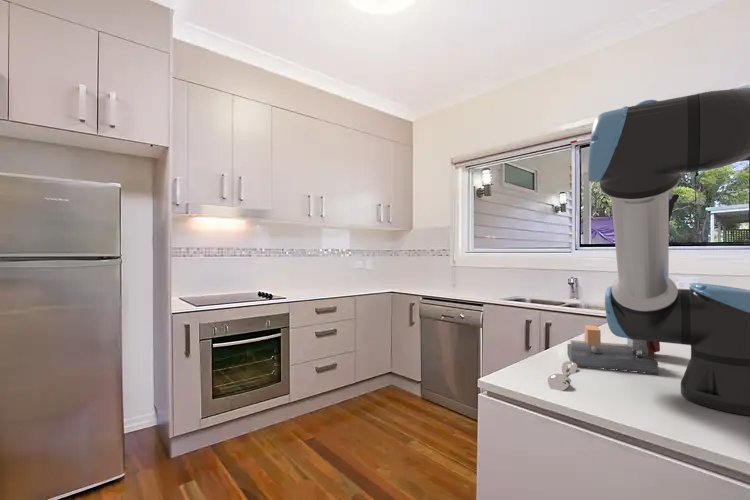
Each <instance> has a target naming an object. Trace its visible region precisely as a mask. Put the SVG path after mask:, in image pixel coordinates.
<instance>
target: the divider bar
mask: <svg viewBox="0 0 750 500" xmlns="http://www.w3.org/2000/svg"><path fill="white" fill-rule="evenodd" d="M626 339H627V340H626V341H627V343H626V344H625V343H613V342H601V346H599V345H596V351H599V352H611V353H624V354H636V356H637V357H642V355H648V347H647V341H645V340H631V339H629V338H626ZM570 344H571V349H575V350H587V351H591V345H588V344H587V342H586V341H585V340H572V339H570Z"/></svg>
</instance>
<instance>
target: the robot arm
mask: <svg viewBox="0 0 750 500" xmlns="http://www.w3.org/2000/svg"><path fill="white" fill-rule="evenodd" d="M590 134H591V135H590V141H589V151H588V165H587V166H588V168H587V169H588V171H587V173H588V174H587V175H588V176H587V177H588V180H589V182H591V183H596V184H597V183H599V187H600V190H601V192H602V194H604V195H605V196H607V197H609V198H610V203H611V213H612V214H611V215H612V222H613V223H612V224H613V234H614V236H613V237H614V245H615V257H616V263H617V264H616V267H617V278H616V279H615V280H614V282H613V283H612V285H611V286H608V287H606V289H605V292H604V293H605V294H604V309H605V318H606V321H607V325H608V328H609V330H610V332H611V333H612V334H613V335H615V337H618V338H625V339H627V338H629V339H631V340H645V341H655V342H660V343H668V344H676V345H683V346H684V345H685V346H690V359H689V362H688V364H687V366H686V369H685V370H684V374H683V376H682V378H681V381H680V395H681V396H682V397H684V398H685V399H686V400H689V401H691V402H694V403H695V404H698V405H701V406H703V407H706V408H711V409H713V410H717V411H722V412H726V413H732V414H737V415H742V416H750V289H745V288H740V287H739V288H738V287H733V286H726V285H720V284H719V285H718V284H713V283H712V284H709V283H701V282H691V284H690V285H689V286H688V288H689V289H683V288H678V287H677V285H676V283H675V282H674V281H673V280H672V279H671V278H670V276H669V267H670V265H669V260H670V259H669V256H670V255H669V247H670V245H669V243H670V242H669V241H670V240H669V237H670V235H669V233H670V232H669V229H670V228H669V227H670V226H669V225H670V221H671V217H672V213H673V210H674V207H675V204H676V202H677V201H678V199H679V198H680V194H677V193H676V194H674V193H673V192H671V191H672V190H674V189H675V188H676V187H677V186H678V184H679V183H680V180H681V174H686V173H687V174H688V173H696V172H706V171H711V170H716V169H720V168H724V167H727V166H731V165H733V164H735V163H737V162H740V161H742V160H745V159H747V158H749V157H750V87H747V86H746V87H740V88H730V89H722V90H721V89H719V90H710V91H704V92H699V93H695V94H690V95H689V94H688V95H685V96H679V97H673V98H669V99H664V100H663V99H662V100H655V99H647V100H643V101H641V102H638V103H637V104H636V105H632V106H628V105H626V106H622V107H621V108H617V109H614V110H609V111H604V112H602V113H601V114H599V115H597V116H596V118H595V119H594V121H593V123H592V127H591V133H590Z"/></svg>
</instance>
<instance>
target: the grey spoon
mask: <svg viewBox="0 0 750 500" xmlns="http://www.w3.org/2000/svg"><path fill="white" fill-rule="evenodd" d="M571 364H572V365H573V366H571ZM568 365H570V368H569V367H568ZM568 368H569V370H568ZM577 369H578V367H577V364H576V363H574V362H572V361H570V360H569V361H564V362H563V363H562V365H561V373H554V374H551V375H550V376H548V377H547V383H548V385H549V387H550V388H551V389H552V390H555V391H565V390H566V389H567V388H568V387H569V386H570V385H571V383H572V380H571V378H569V377H570V376H571V375H574V374H575V373H576V372H577Z"/></svg>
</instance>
